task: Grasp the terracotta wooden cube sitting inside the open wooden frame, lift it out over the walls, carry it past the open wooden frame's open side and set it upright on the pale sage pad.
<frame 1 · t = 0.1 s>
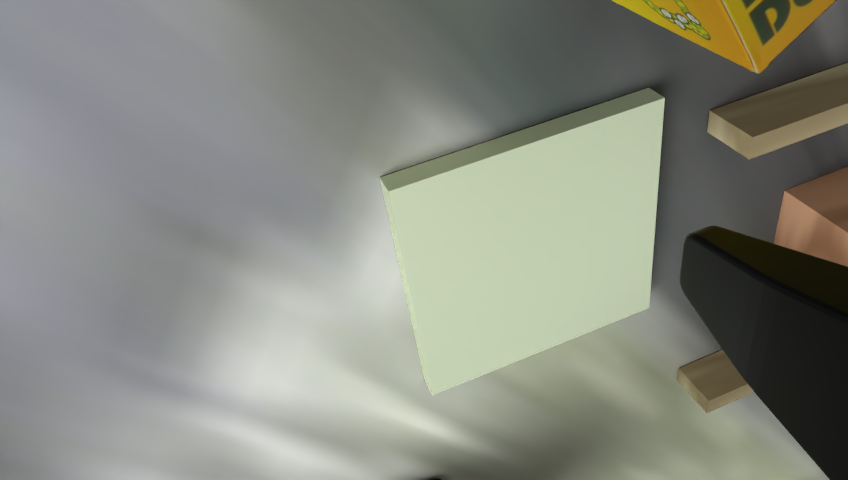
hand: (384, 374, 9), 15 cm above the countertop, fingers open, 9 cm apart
open wooden frame: (817, 215, 36), on the countertop
pad: (527, 245, 30), on the countertop
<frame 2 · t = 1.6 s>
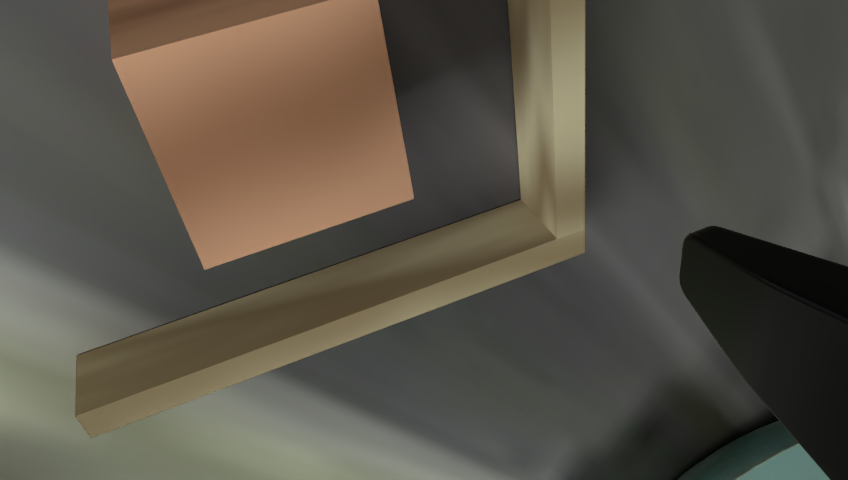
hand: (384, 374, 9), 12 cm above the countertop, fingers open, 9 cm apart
open wooden frame: (244, 56, 18), on the countertop
terracotta cube: (261, 92, 17), in the open wooden frame
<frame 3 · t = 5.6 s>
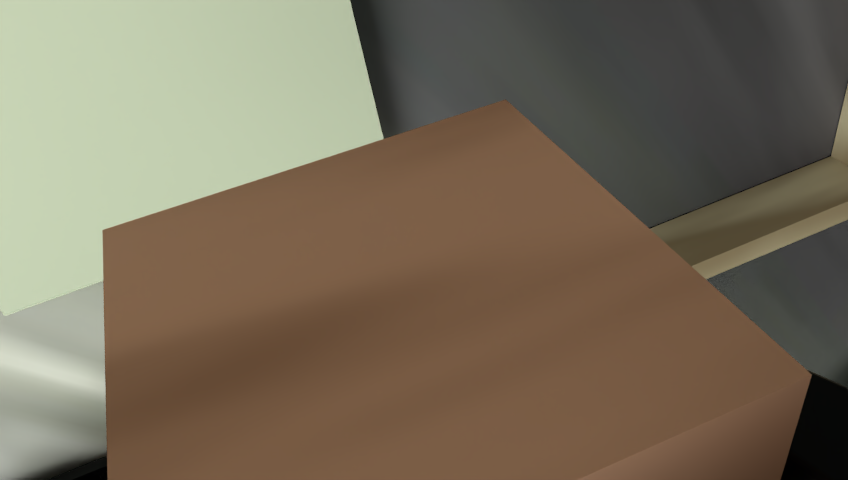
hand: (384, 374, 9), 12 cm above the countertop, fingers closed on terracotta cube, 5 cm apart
open wooden frame: (683, 39, 23), on the countertop
terracotta cube: (420, 446, 8), point 13 cm above the countertop, touching gripper
pad: (119, 45, 17), on the countertop
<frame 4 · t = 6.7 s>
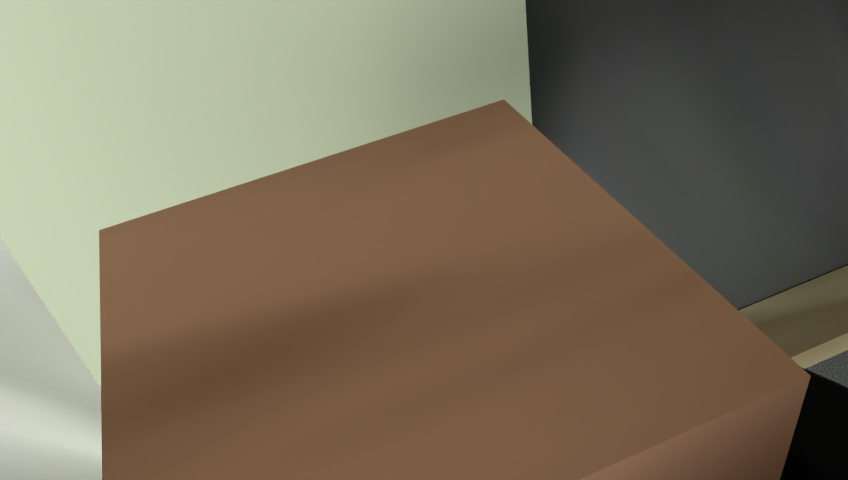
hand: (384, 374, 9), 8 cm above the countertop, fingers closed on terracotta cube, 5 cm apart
open wooden frame: (838, 104, 21), on the countertop
terracotta cube: (418, 447, 8), point 9 cm above the countertop, touching gripper
pad: (271, 115, 15), on the countertop
when the fingers open (4 cm above the countertop, at t = 7.8 s): terracotta cube drops 1 cm, resting on pad.
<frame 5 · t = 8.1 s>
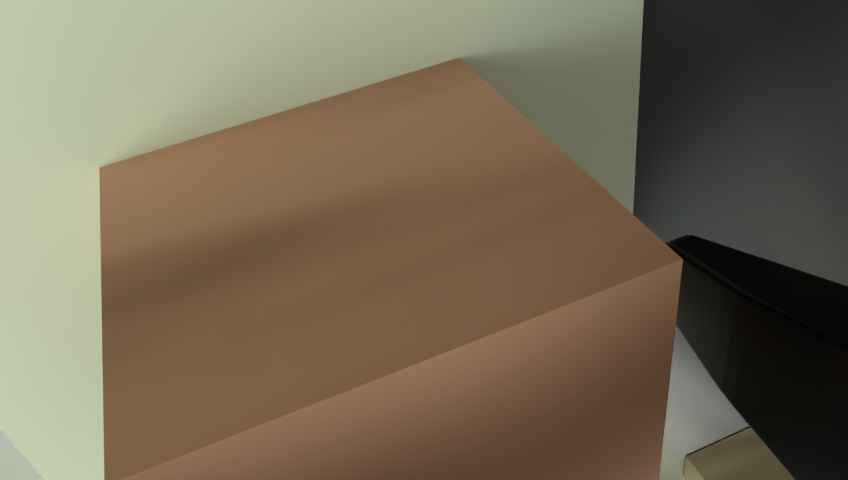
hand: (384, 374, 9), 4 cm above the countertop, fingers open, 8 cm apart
terracotta cube: (379, 359, 9), on the pad, point 4 cm above the countertop
pad: (316, 220, 12), on the countertop
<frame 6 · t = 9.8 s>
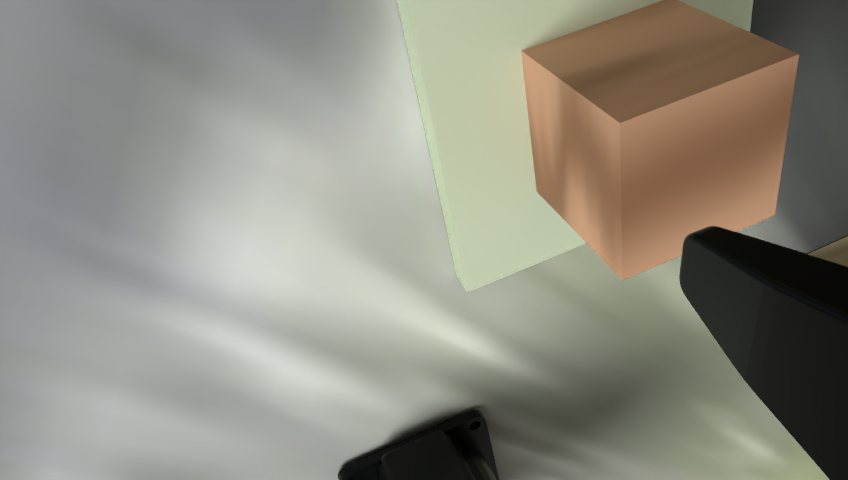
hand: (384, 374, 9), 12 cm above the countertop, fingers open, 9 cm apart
terracotta cube: (648, 133, 20), on the pad, point 4 cm above the countertop
pad: (584, 88, 23), on the countertop
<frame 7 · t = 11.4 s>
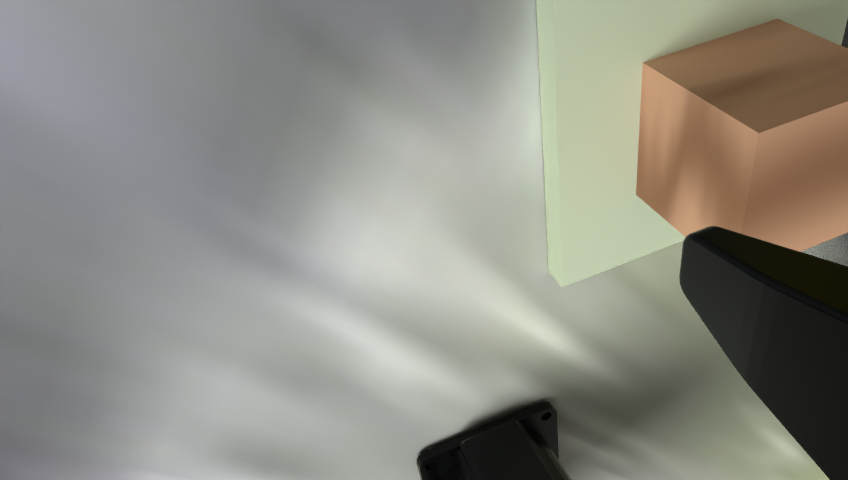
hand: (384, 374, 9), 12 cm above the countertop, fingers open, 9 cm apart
terracotta cube: (756, 143, 22), on the pad, point 4 cm above the countertop
pad: (684, 100, 25), on the countertop
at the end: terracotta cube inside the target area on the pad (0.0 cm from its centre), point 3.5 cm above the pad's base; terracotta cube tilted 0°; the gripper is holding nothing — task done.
